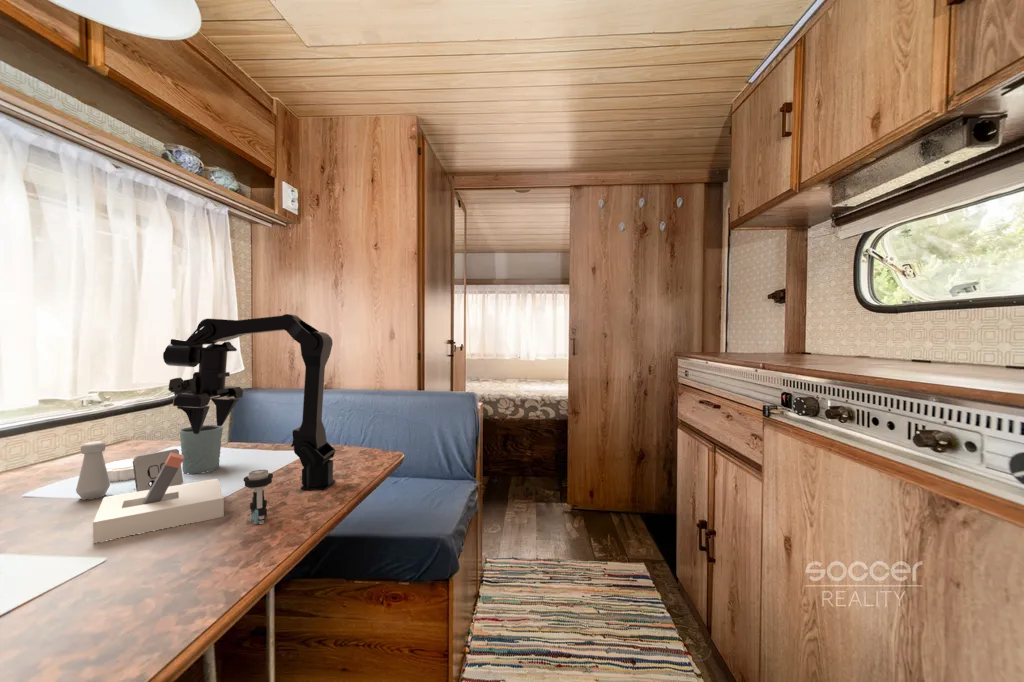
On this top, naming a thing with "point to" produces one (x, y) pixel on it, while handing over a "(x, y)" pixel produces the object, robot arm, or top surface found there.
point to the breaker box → (157, 510)
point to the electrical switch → (153, 469)
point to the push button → (258, 493)
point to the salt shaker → (93, 472)
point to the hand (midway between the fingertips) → (208, 429)
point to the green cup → (201, 449)
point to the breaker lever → (164, 478)
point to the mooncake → (120, 470)
